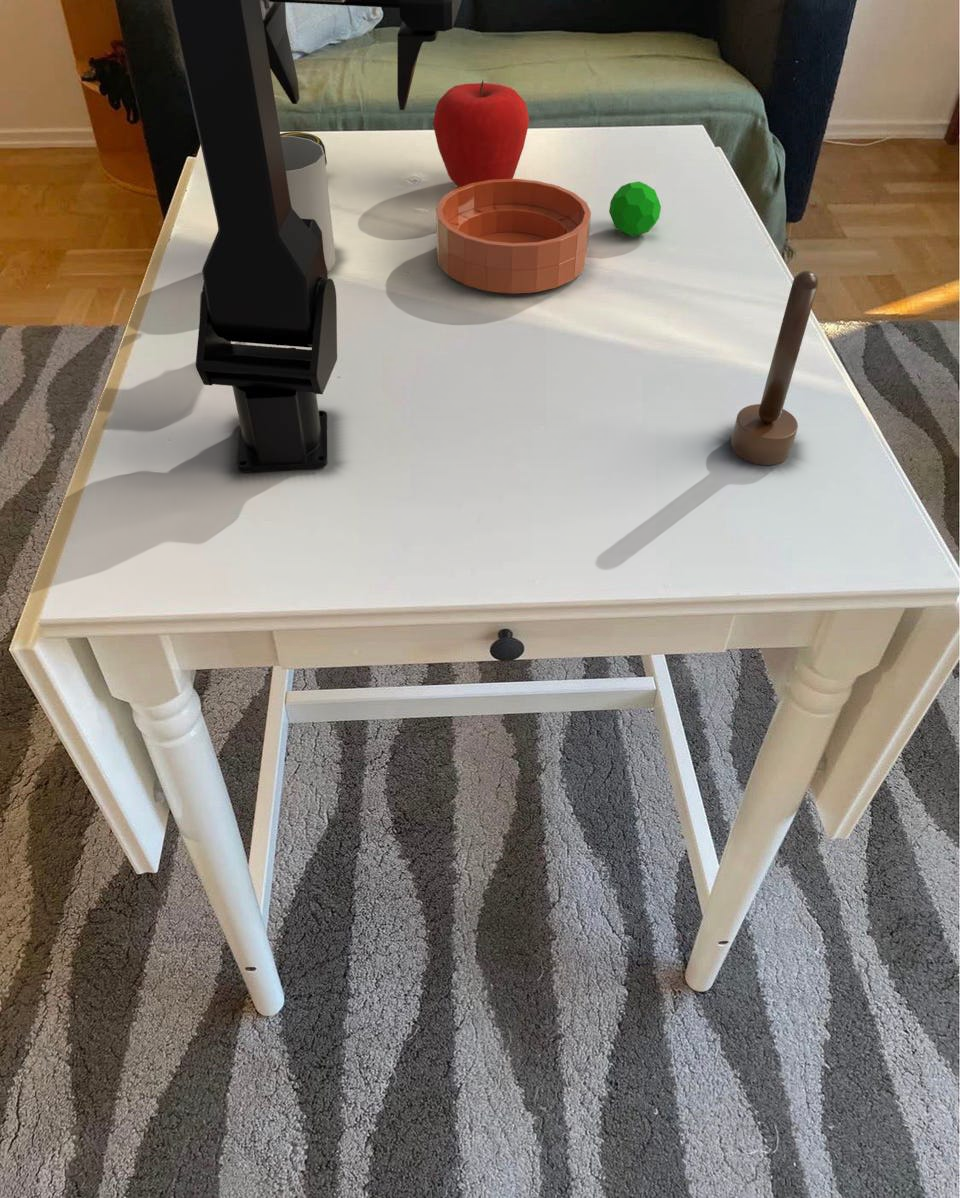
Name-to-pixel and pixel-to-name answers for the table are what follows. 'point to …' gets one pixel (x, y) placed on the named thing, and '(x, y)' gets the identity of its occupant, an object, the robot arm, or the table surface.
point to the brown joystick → (777, 386)
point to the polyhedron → (635, 208)
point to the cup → (309, 187)
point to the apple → (480, 131)
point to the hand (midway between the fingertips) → (349, 104)
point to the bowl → (512, 235)
